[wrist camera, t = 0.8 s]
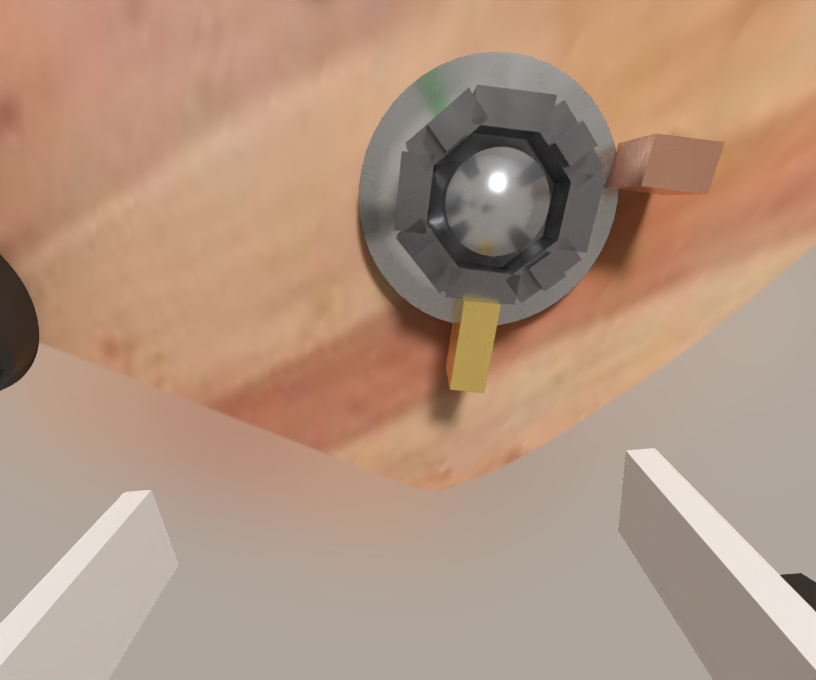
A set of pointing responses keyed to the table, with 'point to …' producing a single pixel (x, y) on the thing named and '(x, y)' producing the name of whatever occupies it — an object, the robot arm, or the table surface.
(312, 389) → the table surface
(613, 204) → the housing
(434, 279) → the grey ring yellow handle
